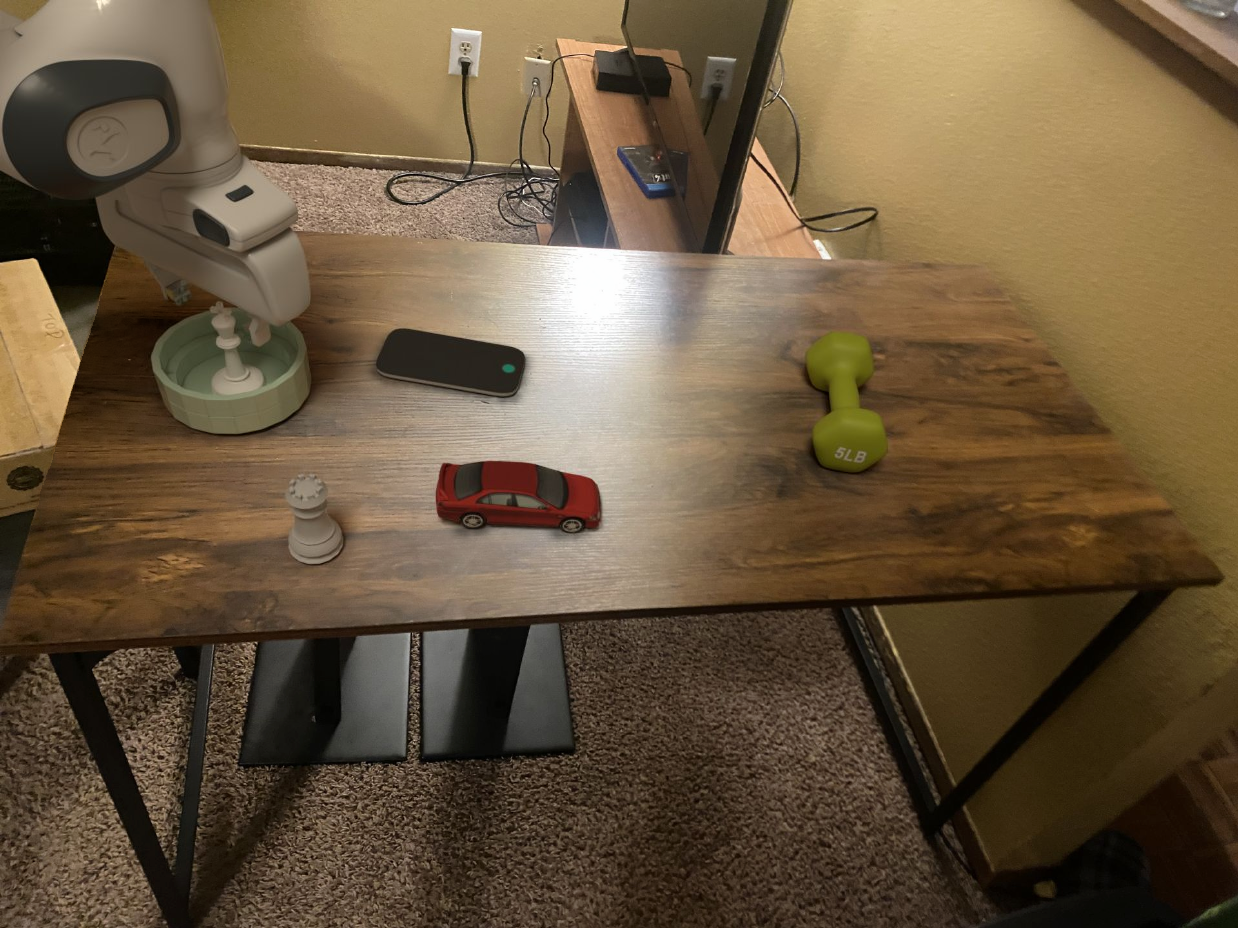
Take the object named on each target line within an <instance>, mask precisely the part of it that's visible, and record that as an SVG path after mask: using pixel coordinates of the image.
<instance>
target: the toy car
mask: <svg viewBox="0 0 1238 928" xmlns="http://www.w3.org/2000/svg"><path fill="white" fill-rule="evenodd" d="M435 488H436V489H435V506H436V513H437V516H438V518H439V519H444V520H445V519H446V520H450V521H455V522H459V521H460V523H461V525H462V526H463V527H465V528H468V529H478V528H481V527H483V526H484V525H485V522H486V524H487V525H488V524H489V525H507V526H508V525H509V526H510V525H511V526H531V527H548V528H549V527H550V528H559V527H560V529H561V531H563V532H564V533H568V534H575V533H578V532H581V531H582V530H583V529H584V527H585V529H597V528H599V525H600V522H601V519H602V518H601V517H602V499H601V492H600V489H599V486H598V483H596V482H595V480H594V479H593V478H591V477H589V476H585V475H581V474H575V473H571V472H566V471H560V470H557V469H554V468H550V467H547V466H543V465H540V464H536V463H532V462H525V461H511V460H482V461H474V462H468V463H463V464H462V463H461V464H459V463H458V464H457V463H450V462H442V464H441V466H440V469H439V472H438V479H437V482H436V487H435Z"/></svg>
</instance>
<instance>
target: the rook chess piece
mask: <svg viewBox="0 0 1238 928" xmlns="http://www.w3.org/2000/svg"><path fill="white" fill-rule="evenodd" d="M328 496H329V488H328V486H327V484H326V483H325V482H324V481H322V479H321V478H317V475H316V474H314V473H309V474H308V476H305V473H299V474H297V479H295V478H291V479H290V481H289V482H288V487H287V488H286V489H285V494H284V498H285V500H286V502H287V503H288V504H289V505H290V510H291V512H292V514H293V515H294V523H293V524H292V525H291V528H290V529H289V532H288V538H287V543H288V550H289V552H290V555H291V556H292V557H293V558H294V559H296V560H297V561H298V562H300V563H303V564H308V565H321V564H322V563H326V562H328V561H331V560H332V559H333V558H334V557H336V556H337V555H338V554H339V553H340V551H341V550H342V548H343V546H344V535H343V534H342V529H341V527H340V526H339V523H338V522H337V521H336V520H335V519H333V518H332V517H331V516H330V515H328V512H327V508H328V500H327V498H328Z"/></svg>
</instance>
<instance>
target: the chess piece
mask: <svg viewBox="0 0 1238 928" xmlns="http://www.w3.org/2000/svg"><path fill="white" fill-rule="evenodd" d="M231 308H232V307H224V302H223V301H220V300H217V301H216V303H215V305H211V306H210V307H209V310H210V311H211V313H218V315H217V316H215V317H214V318H213V319H212V321H211V323H212V325H213V327H214V328H215V329H216V330H217V332H218V334H219V335H220V336H218V337H217V339H216V345H217V346H218V347H220V348H222V349H224V351H225V361H226V367H224V368H222V369H221V370H219V371H218V372H217V373H216V374H215V375H214V376H213V378H212V381H211V385H212V391H213V393H214V395H232V394H237V393H243V392H249V391H253V390H256V389H258V388H261V387H263V386H266V380H265V378H264V375H263V373H262V372H261V371H260V370H259V369H258V368H256V367H254V366H251V365H246V364H242V362H241V359H240V357H239V354H238V352H237V349H236V347H237V346H238V345H239V344H240V342H241V339H240V338H239V336H238V335H236V334H234V327H235V318H234V317H233V316H231V315H230V314H231V313H232V311H231Z"/></svg>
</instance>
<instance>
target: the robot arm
mask: <svg viewBox="0 0 1238 928" xmlns="http://www.w3.org/2000/svg"><path fill="white" fill-rule="evenodd" d="M227 72H228V71H227V65H226V60H225V56H224V51H223V47H222V43H221V39H220V35H219V30H218V27H217V23H216V19H215V16H214V14H213V10H212V7H211V5H210V2H209V0H48V1H47V2H46V3H45V4H44V5H43V6H42V7H41V8H40V9H38V11H36V12H35V13H34V14H33V15H31V16H30V17H29V18H27V19H22V18H20V17H18V16H16V15H14V14H12V13H9V12H8V11H5V10H4V9H1V8H0V172H2V173H4V174H6V175H8V176H10V177H12V178H13V179H15V180H17V181H19V182H20V183H23V184H25V185H27V186H28V187H31V188H33V189H35V190H38V191H40V192H42V193H43V194H46V195H48V196H51V197H54V198H57V199H61V200H68V201H83V200H91V199H95V203H96V207H97V211H98V216H99V220H100V224H101V227H102V230H103V232H104V233H105V235H106V236H107V238H108V239H109V241H110V242H111V243H112V244H113V245H114V246H116V247H117V248H120V249H122V250H124V251H126V252H128V253H129V254H132V255H133V256H136V257H137V258H140V259H142V260H143V262H144V265H145V267H146V268H147V270H148V271H149V272H150V274H151V276H153V278H154V279H155V280H156V282H157V284H158V285H159V286H160V290H161V292H162V295H163V298H164V300H166V301H169V302H171V303H172V304H174V305H177V306H181V305H183V303H187V302H188V301H189V300H190V299H191V298H192V293H191V291H190V285H189V283H190V284H191V285H193V286H195V287H197V288H199V289H201V290H203V291H205V292H207V293H209V294H212V295H213V296H215V297H217V298H219V299H221V300H223V301H226V302H227V303H228V304H231V305H233V306H235V307H236V308H241V309H243V310H245V311H246V314H247V316H248V317H249V318H252V320H251V321H250V322H249V323H246V324H244V325H243V326H241V327H242V332H243V334H244V339H245V340H246V341H248V342H250V343H252V344H254V345H256V346H258V347H260V346H262V345H263V344H265V343H266V342H268V341H269V340H270V338H271V333H270V327H269V324H272V325H275V326H282V325H284V324H286V323H288V322H289V321H290V322H292V320H294V319H296V318H297V317H299V316H300V315H301V314H303V313H304V312H306V310H307V309H308V308H309V307H310V304H311V299H312V297H311V295H312V294H311V285H310V278H309V271H308V266H307V259H306V254H305V251H304V247H303V243H302V241H301V240H300V238H299V236H298V235H297V233H296V232H295V230H294V229H293V228H292V227H291V226H293V225H294V224H295V223H296V222H298V221H299V210H298V206H297V203H296V201H295V200H294V199H293V198H292V197H291V195H289V194H288V193H286V192H285V191H284V190H283V189H282V188H280V186H278V185H277V184H275V183H274V182H273V181H272V180H270V179H269V177H267V176H266V175H265V174H264V173H263V172H262V171H261V170H260V169H259V168H257V165H255V164H254V163H253V162H252V161H251V159H249V157H247V156H246V155H245V154H243V153H242V150H241V146H240V139H239V136H238V134H237V132H236V129H235V128H234V125H233V123H232V122H231V119H230V115H229V99H230V83H229V77H228V73H227Z"/></svg>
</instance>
